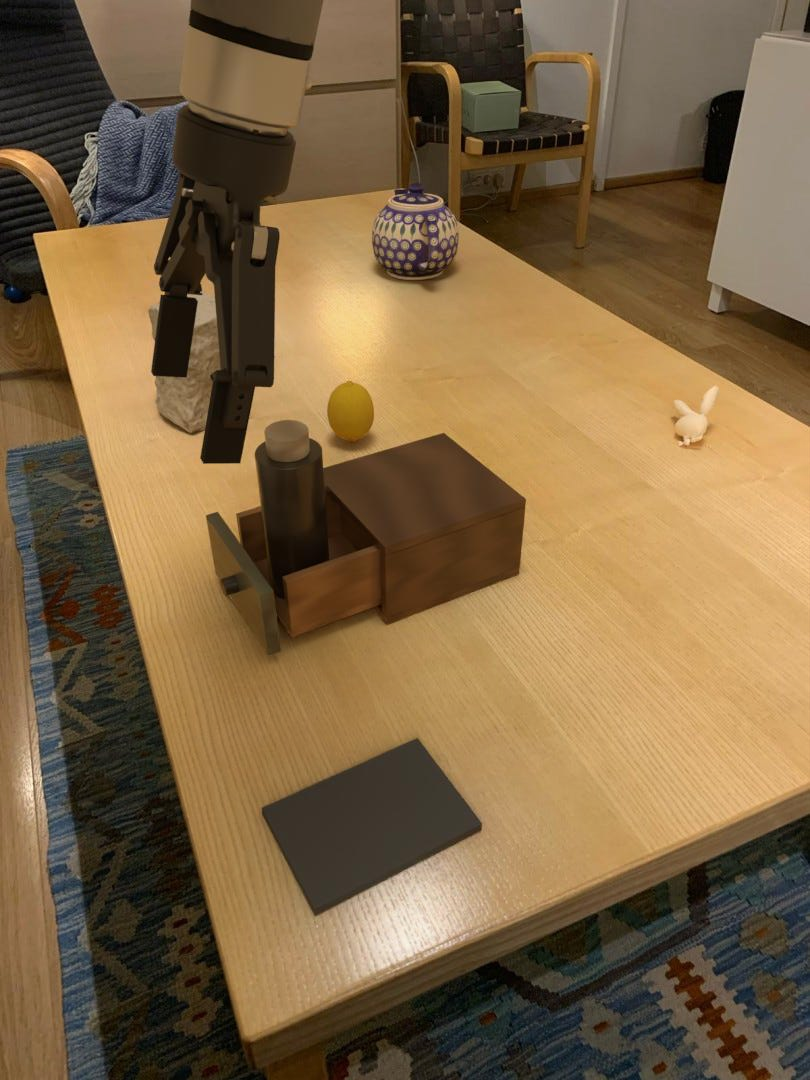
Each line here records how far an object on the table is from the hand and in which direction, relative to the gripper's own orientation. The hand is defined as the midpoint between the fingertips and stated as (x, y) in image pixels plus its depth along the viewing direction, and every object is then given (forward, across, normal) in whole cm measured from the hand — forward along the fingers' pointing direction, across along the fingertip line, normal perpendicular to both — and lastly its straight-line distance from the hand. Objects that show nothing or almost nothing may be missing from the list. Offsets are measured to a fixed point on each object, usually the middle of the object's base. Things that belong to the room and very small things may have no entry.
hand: (192, 415), depth 66 cm
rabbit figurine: (+5, +7, -65) cm, 66 cm away
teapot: (+10, +74, -63) cm, 98 cm away
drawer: (+18, -1, -13) cm, 22 cm away
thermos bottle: (+17, -1, -12) cm, 21 cm away
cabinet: (+15, 0, -25) cm, 29 cm away
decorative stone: (+21, +40, -15) cm, 48 cm away
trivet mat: (+18, -26, -8) cm, 33 cm away
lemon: (+16, +24, -29) cm, 41 cm away
